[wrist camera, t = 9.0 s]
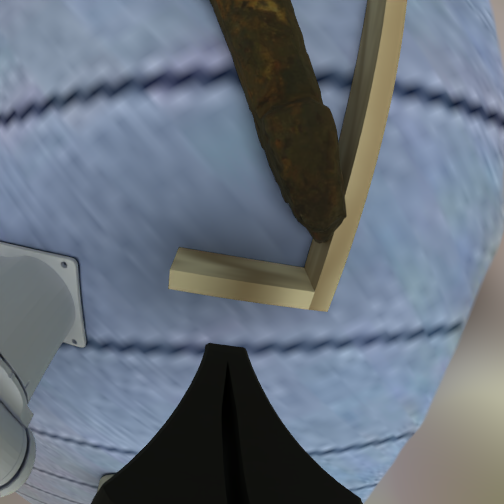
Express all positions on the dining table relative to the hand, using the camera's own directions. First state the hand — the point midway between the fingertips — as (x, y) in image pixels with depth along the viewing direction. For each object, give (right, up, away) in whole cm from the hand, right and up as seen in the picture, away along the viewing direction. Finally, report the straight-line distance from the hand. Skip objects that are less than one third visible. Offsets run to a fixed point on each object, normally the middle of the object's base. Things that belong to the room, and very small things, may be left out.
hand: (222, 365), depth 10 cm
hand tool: (+2, +16, +4) cm, 16 cm away
